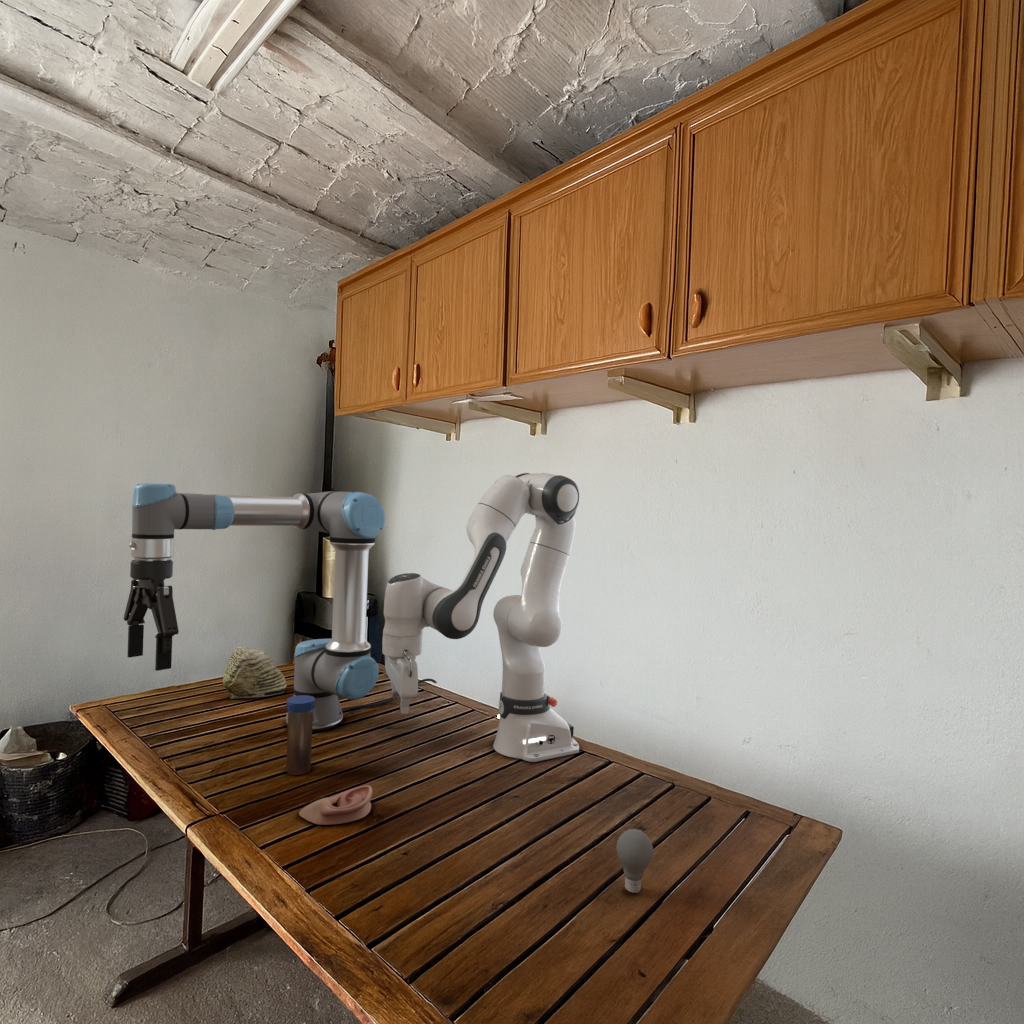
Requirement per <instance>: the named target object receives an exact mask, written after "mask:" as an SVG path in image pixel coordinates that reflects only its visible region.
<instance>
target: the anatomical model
mask: <svg viewBox="0 0 1024 1024" xmlns="http://www.w3.org/2000/svg"><path fill="white" fill-rule="evenodd" d="M372 795H373V787H372V786H371V785H369V784H367V785H366V784H365V785H361V786H356V787H354V788H351V789H350V788H349V789H347V790H345V791H341V792H340V793H337V794H334V795H332V796H329V797H328V796H327V797H323V798H320V799H317V800H315V801H313V802H311V803H309V804H307V805H306V806H304V807H303V808H301V809H300V810H299V812H298V815H299V817H300V818H302V819H304V820H306V821H307V822H310V823H311V824H315V825H319V826H328V825H339V824H346V823H351V822H354V821H357V820H361V819H363V818H365V817H366V816H367V815H368V814H369V813H370V812H371V809H372V803H371V798H372V797H373V796H372Z"/></svg>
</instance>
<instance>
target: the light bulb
mask: <svg viewBox="0 0 1024 1024" xmlns="http://www.w3.org/2000/svg"><path fill="white" fill-rule="evenodd" d="M615 849H616V854H617V857H618V859H619V861H620V863H621V865H622V867H623V873H624V874H623V875H624V876H625V878H624V888H625V890H627V891H628V892H630V893H634V894H635V893H639V892H640V891H641V889H642V887H641V886H642V879H643V877H644V875H645V871H646V868H647V867H648V866H649V864H650V863H651V861H652V859H653V855H654V847H653V843H652V841H651V838H649V836H648V835H647V834H646V833H645V832H643V831H642V830H641V829H636V828H629V829H627V830H625V831H623V832H622V833H621V834H620V835H619V837H618V839H617V841H616V847H615Z"/></svg>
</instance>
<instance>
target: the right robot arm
mask: <svg viewBox="0 0 1024 1024" xmlns="http://www.w3.org/2000/svg"><path fill="white" fill-rule="evenodd" d="M579 490H580V489H579V486H578V485H577V483H576V482H575V481H574V480H573V479H571V478H569V477H567V476H564V475H561V474H560V475H556V474H552V473H547V472H540V473H529V472H523V473H520V474H517V475H515V476H514V475H511V474H510V475H509V474H506V475H502V476H500V477H499V478H498V479H496V481H494V482H493V484H491V486H490V487H489V488H488V489H487V491H485V493H484V494H483V496H482V497H481V498H480V499H479V501H478V502H477V504H476V506H475V507H474V509H473V511H472V512H471V514H470V516H469V518H468V520H467V523H466V525H465V527H466V534H467V537H468V539H469V542H470V543H471V544H472V546H473V549H474V553H473V554H474V555H473V558H472V560H471V562H470V564H469V566H468V568H467V570H466V573H465V574H464V576H463V578H462V580H461V582H460V584H459V585H458V587H456V588H455V589H453V590H451V589H449V588H447V587H445V586H441V585H438V584H435V583H433V582H431V581H429V580H428V579H426V578H424V577H423V576H422V575H421V574H420V573H415V572H410V573H408V572H407V573H405V572H404V573H400V574H397V575H394V576H392V577H391V578H390V579H389V580H388V581H387V583H386V587H385V592H384V602H383V617H384V626H383V629H382V639H381V640H382V641H381V645H382V648H381V649H382V650H381V652H382V653H381V654H382V655H384V666H385V672H386V676H387V677H388V679H389V680H390V686H391V697H392V698H393V700H394V701H400V704H399V712H400V714H401V715H407V714H409V713H410V705H411V701H412V699H416V698H417V697H418V693H419V684H418V681H419V667H418V663H417V661H416V660H417V657H418V656H420V655H421V654H422V653H423V652H422V651H423V630H424V629H425V628H431V629H434V630H435V631H437V632H439V634H441V635H442V636H444V637H445V638H447V639H450V640H461V639H463V638H465V637H467V636H468V635H470V634H471V633H472V632H473V631H474V630H475V628H477V625H478V623H479V620H480V615H481V610H482V606H483V603H484V601H485V598H486V596H487V594H488V591H489V590H490V587H491V586H492V583H493V582H494V580H495V578H496V575H497V573H498V571H499V569H500V567H501V565H502V562H503V560H504V557H505V555H506V552H507V546H508V543H509V541H510V539H511V537H512V535H513V533H514V531H515V530H516V528H517V527H518V525H519V523H520V521H521V519H522V518H523V516H524V515H525V514H527V515H531V516H535V517H534V518H535V527H534V530H533V532H532V535H531V537H530V540H529V543H528V546H527V548H526V552H525V555H524V558H523V561H522V565H521V567H520V576H521V583H522V584H521V594H520V595H519V594H512V595H511V594H510V595H506V596H503V597H502V598H500V599H499V600H498V601H497V602H496V604H495V606H494V608H493V614H492V615H493V620H494V622H495V625H496V628H497V633H498V638H499V639H498V640H499V645H500V652H501V653H500V654H501V661H502V677H501V691H500V693H499V701H498V713H499V714H497V719H498V727H497V731H496V735H495V739H494V742H493V744H492V747H493V748H492V749H493V750H494V751H495V752H496V753H498V754H499V755H502V756H506V757H508V758H512V759H520V760H523V761H526V762H529V763H536V762H541V761H547V760H551V759H555V758H561V757H565V756H566V757H567V756H570V755H574V754H578V753H580V745H579V743H578V741H577V740H576V739H575V738H574V728H575V727H574V726H573V725H572V724H570V723H569V722H567V721H566V720H565V719H564V718H563V717H562V716H561V715H559V714H558V713H557V712H556V711H555V710H553V709H552V708H555V707H556V706H558V701H557V699H556V698H554V696H553V697H552V696H550V695H548V694H547V693H545V685H546V664H545V660H544V658H543V656H542V653H541V649H540V648H548V647H550V646H552V645H554V644H555V643H557V641H558V640H559V639H560V637H561V635H562V632H563V621H562V618H561V614H560V593H561V587H562V586H561V585H562V581H563V578H564V574H565V571H566V568H567V564H568V561H569V558H570V555H571V551H572V547H573V544H574V540H575V533H576V526H577V523H576V519H575V517H574V516H575V514H576V512H577V509H578V506H579V502H580V491H579ZM571 737H572V738H571Z"/></svg>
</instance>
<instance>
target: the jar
mask: <svg viewBox="0 0 1024 1024" xmlns="http://www.w3.org/2000/svg"><path fill="white" fill-rule="evenodd" d="M287 713H288V727H287V734H286V757H285V758H286V760H285V761H286V762H285V764H286V765H285V772H286V774H288V775H290V776H300V775H305V774H307V773H309V772H311V769H312V748H313V747H312V746H313V732H312V724H313V710H311V711H307V712H300V713H296V712H290V711H288V710H287Z"/></svg>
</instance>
